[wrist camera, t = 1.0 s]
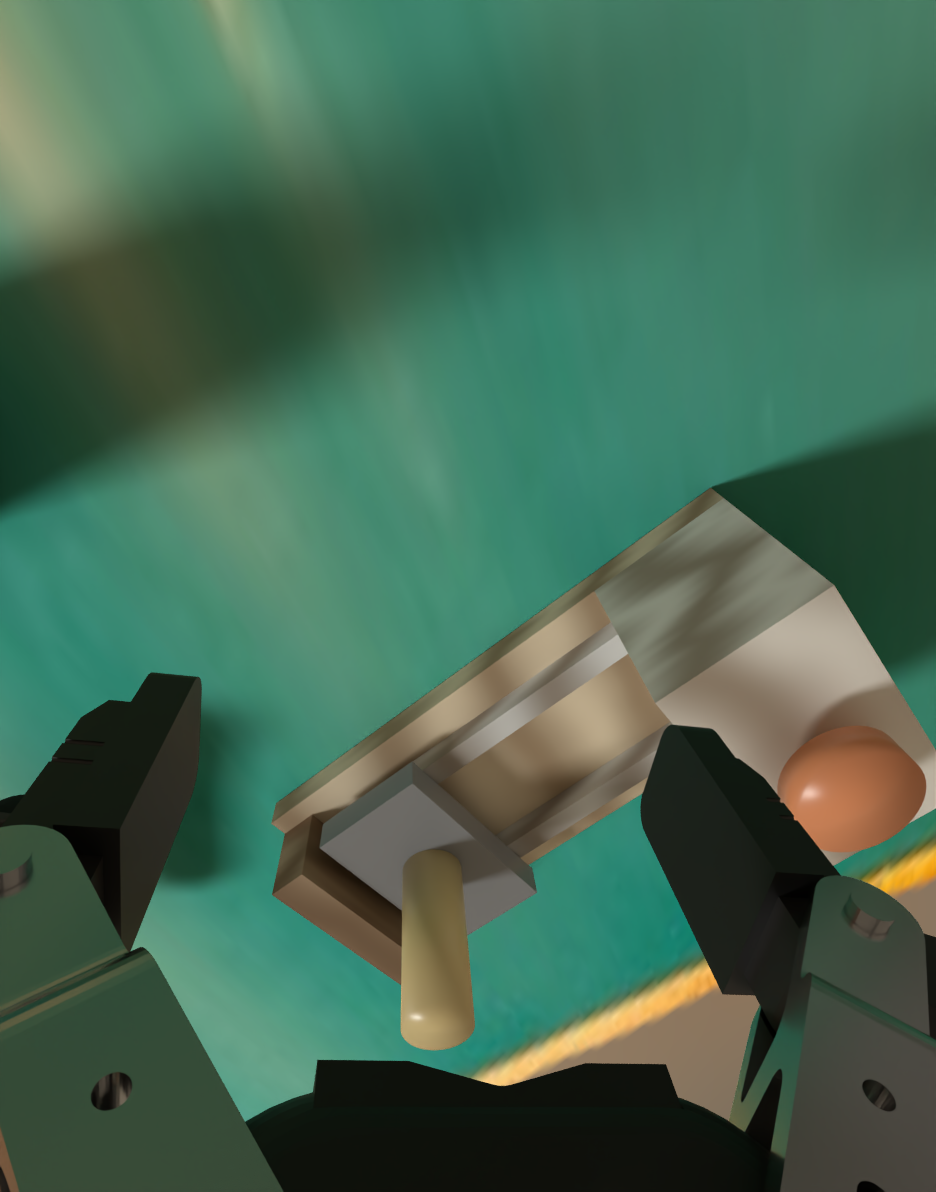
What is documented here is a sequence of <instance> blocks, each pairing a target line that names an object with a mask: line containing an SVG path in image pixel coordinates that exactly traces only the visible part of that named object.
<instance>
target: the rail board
mask: <svg viewBox="0 0 936 1192" xmlns="http://www.w3.org/2000/svg"><path fill="white" fill-rule="evenodd" d="M669 725H682V726H693V727H703V728H711V729H713V730H715V731H716V732H717V734H718V735H719V736H720V738H721V739H722V740H723V742H724V743H725V744H726V746H727V747H728V748H729V750H730V751H731V752H732V754H733V755H734V756H735V757H736V758H739V759H740V760H742V761H743V762H744V763H746V764H747V765H748V766H750V767H751V768H752V769H753V770H755V771H756V772H757V773H759V774H760V775H761V776H763V777H764V778H765V779H766V781H767V782H768V783H769V785H770V786H771V787H772V788H773V790H774V791H775V792H776V793H777V785H778V780H779V776H780V773H781V771H782V769H783V767H784V766H785V764H786V762H787V761H788V760H789V758H790V757H791V756H792V755H793V754H794V753H795V752H796V751H797V750H798V749H799V748H800V747H801V746H803V745H804V744H805V743H807V742H808V741H810V740H811V739H813V738H815V737H816V736H818V735H820V734H822V733H825V732H827V731H830V730H833V729H836V728H841V727H846V726H868V727H872V728H876V729H878V730H881V731H883V732H884V733H886V734H887V735H889V736H890V737H891V738H892V739H893V740H894V741H895V742H896V743H897V744H898V745H899V746H900V747H901V748H902V749H903V750H904V751H905V752H906V753H907V754H908V755H909V756H910V757H911V758H912V759H913V760H914V761H915V762H916V763H917V764H918V765H919V767H920V768H921V769H922V771H923V773H924V775H925V779H926V794H925V798H924V801H923V803H922V806H921V808H920V809H919V811H918V813H917V814H916V815H915V817H914V818H913V819H912V820H911V821H910V822H912V821H914V820H916V819H917V818H919V817H921V816H923V815H925V814H926V813H928V812H930V811H932V810H934V809H935V808H936V750H935V748H934V747H933V745H932V743H931V742H930V740H929V738H928V737H927V735H926V734H925V732H924V730H923V729H922V727H921V725H920V724H919V722H918V721H917V719H916V717H915V716H914V714H913V712H912V711H911V709H910V708H909V706H908V704H907V703H906V701H905V699H904V698H903V696H902V695H901V693H900V691H899V690H898V688H897V686H896V685H895V683H894V682H893V680H892V678H891V677H890V675H889V673H888V672H887V670H886V669H885V667H884V665H883V664H882V662H881V660H880V659H879V657H878V656H877V654H876V652H875V651H874V649H873V647H872V646H871V644H870V643H869V641H868V639H867V638H866V636H865V634H864V633H863V631H862V629H861V628H860V626H859V625H858V623H857V621H856V620H855V618H854V616H853V615H852V613H851V612H850V610H849V608H848V607H847V605H846V603H845V602H844V600H843V599H842V597H841V595H840V594H839V592H838V590H837V589H836V587H835V586H834V585H833V584H832V583H831V582H830V581H828V580H827V579H826V578H825V577H823V576H822V575H821V574H819V573H818V572H817V571H816V570H814V569H813V568H812V567H811V566H809V565H808V564H807V563H806V562H804V561H803V560H802V559H800V558H799V557H798V556H797V555H795V554H794V553H793V552H792V551H790V550H789V549H788V548H786V547H785V546H784V545H783V544H781V543H780V542H779V541H778V540H776V539H775V538H774V537H772V536H771V535H770V534H769V533H767V532H766V531H765V530H764V529H762V528H761V527H760V526H759V525H757V524H756V523H755V522H753V521H752V520H751V519H750V518H748V517H747V516H746V515H745V514H743V513H742V512H741V511H739V510H738V509H737V508H736V507H734V506H733V505H732V504H731V503H729V502H728V501H727V500H726V499H724V498H723V497H722V496H720V495H719V494H718V493H717V492H715V491H714V490H713V489H712V488H710V489H708V490H707V491H706V492H704V493H703V494H701V495H700V496H699V497H697V498H696V499H694V500H693V501H692V502H690V503H689V504H688V505H686V506H685V507H683V508H682V509H681V510H679V511H678V512H677V513H675V514H674V515H672V516H671V517H670V518H668V519H667V520H666V521H664V522H663V523H661V524H660V525H659V526H657V527H656V528H655V529H653V530H652V531H650V532H649V533H648V534H646V535H645V536H644V537H642V538H641V539H639V540H638V541H637V542H635V543H634V544H633V545H631V546H630V547H628V548H627V549H626V550H624V551H623V552H622V553H620V554H619V555H617V556H616V557H615V558H613V559H612V560H611V561H609V562H608V563H606V564H605V565H604V566H602V567H601V568H600V569H598V570H597V571H595V572H594V573H593V574H591V575H590V576H589V577H587V578H586V579H584V580H583V581H582V582H580V583H579V584H578V585H576V586H575V587H573V588H572V589H571V590H569V591H568V592H567V593H565V594H564V595H562V596H561V597H560V598H558V599H557V600H555V601H554V602H553V603H551V604H550V605H549V606H547V607H546V608H544V609H543V610H542V611H540V612H539V613H538V614H536V615H535V616H533V617H532V618H531V619H529V620H528V621H527V622H525V623H524V624H522V625H521V626H520V627H518V628H517V629H516V630H514V631H513V632H511V633H510V634H509V635H507V636H506V637H505V638H503V639H502V640H500V641H499V642H498V643H496V644H495V645H494V646H492V647H491V648H489V649H488V650H487V651H485V652H484V653H483V654H481V655H480V656H478V657H477V658H476V659H474V660H473V661H472V662H470V663H469V664H467V665H466V666H465V667H463V668H462V669H461V670H459V671H458V672H456V673H455V674H454V675H452V676H451V677H450V678H448V679H447V680H445V681H444V682H443V683H441V684H440V685H439V686H437V687H436V688H434V689H433V690H432V691H430V692H429V693H428V694H426V695H425V696H423V697H422V698H421V699H419V700H418V701H416V702H415V703H414V704H412V705H411V706H410V707H408V708H407V709H405V710H404V711H403V712H401V713H400V714H399V715H397V716H396V717H394V718H393V719H392V720H390V721H389V722H388V723H386V724H385V725H383V726H382V727H381V728H379V729H378V730H377V731H375V732H374V733H372V734H371V735H370V736H368V737H367V738H366V739H364V740H363V741H361V742H360V743H359V744H357V745H356V746H355V747H353V748H352V749H350V750H349V751H348V752H346V753H345V754H344V755H342V756H341V757H339V758H338V759H337V760H335V761H334V762H333V763H331V764H330V765H328V766H327V767H326V768H324V769H323V770H322V771H320V772H319V773H317V774H316V775H315V776H313V777H312V778H311V779H309V780H308V781H306V782H305V783H304V784H302V785H301V786H300V787H298V788H297V789H295V790H294V791H293V792H291V793H290V794H288V795H287V796H286V797H284V798H283V799H282V800H280V801H279V802H277V803H276V806H275V811H274V815H273V819H272V824H273V825H274V826H276V827H277V828H278V829H280V830H281V831H282V832H284V833H285V836H284V841H283V846H282V850H281V855H280V860H279V865H278V869H277V874H276V879H275V883H274V888H273V893H272V895H273V896H274V897H276V898H277V899H279V900H280V901H282V902H283V903H284V904H286V905H287V906H289V907H290V908H292V909H293V910H294V911H296V912H297V913H299V914H300V915H302V916H303V917H304V918H306V919H307V920H309V921H310V922H312V923H313V924H314V925H316V926H317V927H319V928H320V929H322V930H323V931H324V932H326V933H327V934H329V935H330V936H332V937H333V938H334V939H336V940H337V941H339V942H340V943H342V944H343V945H344V946H346V947H347V948H349V949H350V950H352V951H353V952H354V953H356V954H357V955H359V956H360V957H362V958H363V959H364V960H366V961H367V962H369V963H370V964H372V965H373V966H374V967H376V968H377V969H379V970H380V971H382V972H383V973H384V974H386V975H387V976H389V977H390V978H392V979H393V980H394V981H396V982H397V983H399V984H400V985H401V968H402V911H401V910H400V909H399V908H397V907H396V906H395V905H394V904H392V903H391V902H390V901H388V900H387V899H386V898H384V897H383V896H382V895H380V894H379V893H378V892H376V891H375V890H374V889H373V888H371V887H370V886H369V885H367V884H366V883H365V882H363V881H362V880H361V879H359V878H358V877H357V876H356V875H354V874H353V873H352V872H350V871H349V870H348V869H346V868H345V867H344V866H342V865H341V864H340V863H338V862H337V861H336V860H335V859H333V858H332V857H331V856H329V855H328V854H327V853H325V852H324V851H323V850H321V849H320V848H319V847H320V841H321V834H322V827H323V824H324V823H325V822H327V821H328V820H329V819H331V818H332V817H334V816H335V815H337V814H338V813H339V812H341V811H342V810H344V809H345V808H347V807H348V806H349V805H351V804H352V803H354V802H355V801H357V800H358V799H359V798H361V797H362V796H364V795H365V794H366V793H368V792H369V791H371V790H372V789H374V788H375V787H376V786H378V785H379V784H381V783H382V782H384V781H385V780H386V779H388V778H389V777H391V776H392V775H394V774H395V773H396V772H398V771H399V770H401V769H402V768H403V767H405V766H406V765H408V764H409V763H411V762H412V761H413V762H414V763H415V764H416V765H417V766H418V767H419V768H420V769H422V770H423V771H424V772H425V773H426V774H427V775H428V776H429V777H430V778H432V779H433V780H434V781H435V782H436V783H437V784H438V785H439V786H441V787H442V788H443V789H444V790H445V791H446V792H447V793H448V794H449V795H451V796H452V797H453V798H454V799H455V800H456V801H457V802H458V803H459V804H461V805H462V806H463V807H464V808H465V809H466V810H467V811H468V812H470V813H471V814H472V815H473V816H474V817H475V818H476V819H477V820H478V821H480V822H481V823H482V824H483V825H484V826H485V827H486V828H487V829H489V830H490V831H491V832H492V833H493V834H494V835H495V836H496V837H497V838H499V839H500V840H501V841H502V842H503V843H504V844H505V845H506V846H507V847H509V848H510V849H511V850H512V851H513V852H514V853H515V854H516V855H518V856H519V857H520V858H521V859H522V860H523V861H524V862H525V863H526V864H528V865H529V864H530V863H532V862H534V861H535V860H537V859H538V858H540V857H542V856H543V855H545V854H546V853H548V852H550V851H551V850H553V849H554V848H556V847H558V846H559V845H561V844H562V843H564V842H566V841H567V840H569V839H570V838H572V837H573V836H575V835H577V834H578V833H580V832H581V831H583V830H585V829H586V828H588V827H589V826H591V825H593V824H594V823H596V822H597V821H599V820H601V819H602V818H604V817H605V816H607V815H608V814H610V813H612V812H613V811H615V810H616V809H618V808H620V807H621V806H623V805H624V804H626V803H628V802H629V801H631V800H632V799H634V798H636V797H637V796H639V795H640V794H642V793H643V791H644V788H645V785H646V782H647V779H648V776H649V773H650V770H651V767H652V764H653V761H654V757H655V754H656V751H657V748H658V745H659V742H660V739H661V736H662V734H663V732H664V730H665V729H666V728H667V727H668V726H669ZM777 795H778V793H777ZM910 822H909V823H910ZM909 823H908V824H909ZM820 850H821V851H822V852H823V853H824V855H825V856H826V857H827V859H828V860H829V861H830V862H831V864H832V865H835V864H837V863H839V862H841V861H842V860H844V859H846V858H848V857H850V856H851V855H853V854H855V853H857V852H858V851H860V850H858V851H853V852H830V851H825V850H822V849H820Z"/></svg>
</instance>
